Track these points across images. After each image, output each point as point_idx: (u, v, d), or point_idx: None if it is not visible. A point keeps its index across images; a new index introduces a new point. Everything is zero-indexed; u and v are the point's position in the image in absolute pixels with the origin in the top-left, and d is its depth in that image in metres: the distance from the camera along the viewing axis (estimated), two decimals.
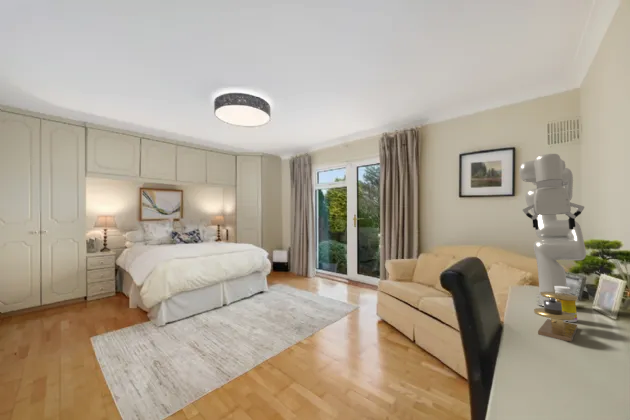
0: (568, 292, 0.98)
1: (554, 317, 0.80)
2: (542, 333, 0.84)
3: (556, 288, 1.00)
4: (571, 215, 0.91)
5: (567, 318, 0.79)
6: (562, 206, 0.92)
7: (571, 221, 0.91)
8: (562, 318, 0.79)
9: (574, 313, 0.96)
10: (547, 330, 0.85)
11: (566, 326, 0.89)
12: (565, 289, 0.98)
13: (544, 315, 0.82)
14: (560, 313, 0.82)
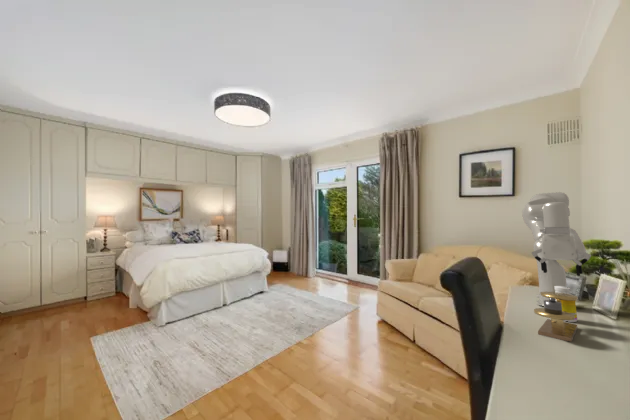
0: (568, 292, 0.98)
1: (554, 317, 0.80)
2: (542, 333, 0.84)
3: (556, 288, 1.00)
4: None
5: (567, 318, 0.79)
6: None
7: None
8: (562, 318, 0.79)
9: (574, 313, 0.96)
10: (547, 330, 0.85)
11: (566, 326, 0.89)
12: (565, 289, 0.98)
13: (544, 315, 0.82)
14: (560, 313, 0.82)
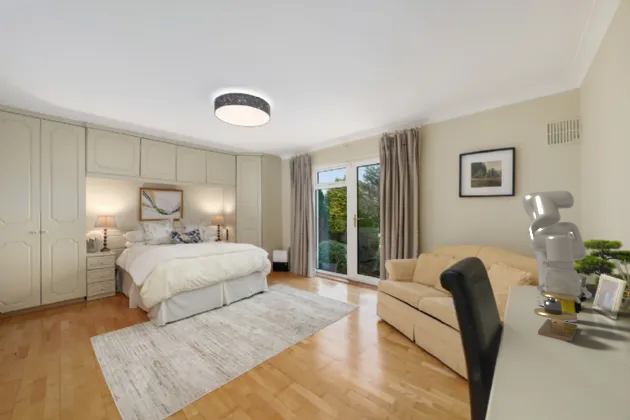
0: None
1: (554, 317, 0.80)
2: (542, 333, 0.84)
3: None
4: None
5: (567, 318, 0.79)
6: None
7: None
8: (562, 318, 0.79)
9: (574, 313, 0.96)
10: (547, 330, 0.85)
11: (566, 326, 0.89)
12: None
13: (544, 315, 0.82)
14: (560, 313, 0.82)
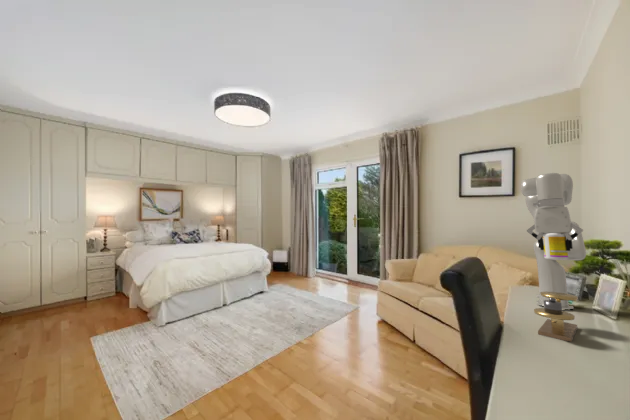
0: None
1: (554, 317, 0.80)
2: (542, 333, 0.84)
3: None
4: None
5: (567, 318, 0.79)
6: None
7: None
8: (562, 318, 0.79)
9: (565, 251, 0.92)
10: (547, 330, 0.85)
11: (566, 326, 0.89)
12: None
13: (544, 315, 0.82)
14: (560, 313, 0.82)
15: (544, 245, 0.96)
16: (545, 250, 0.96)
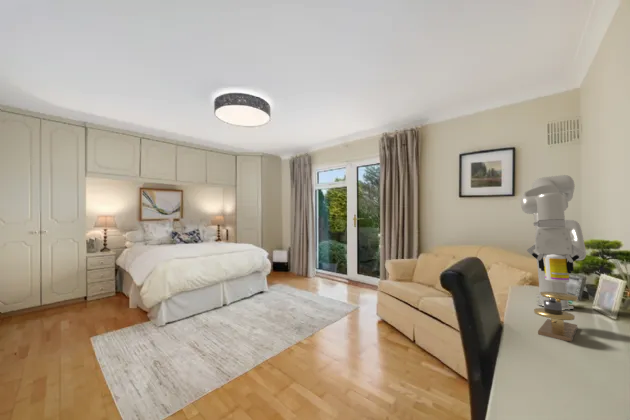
0: None
1: (554, 317, 0.80)
2: (542, 333, 0.84)
3: None
4: None
5: (567, 318, 0.79)
6: None
7: None
8: (562, 318, 0.79)
9: (566, 273, 0.90)
10: (547, 330, 0.85)
11: (566, 326, 0.89)
12: None
13: (544, 315, 0.82)
14: (560, 313, 0.82)
15: (545, 266, 0.94)
16: (546, 271, 0.94)
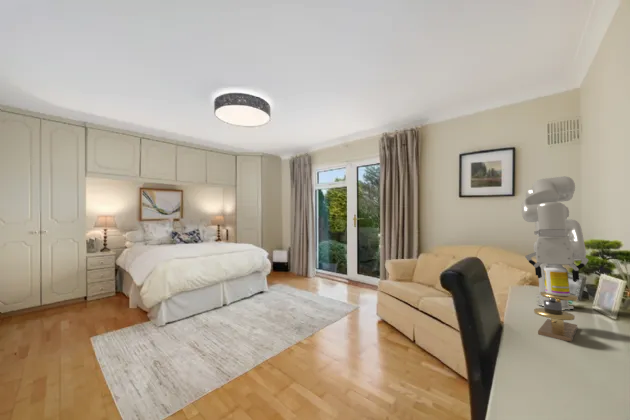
0: (560, 265, 0.92)
1: (554, 317, 0.80)
2: (542, 333, 0.84)
3: None
4: None
5: (567, 318, 0.79)
6: None
7: None
8: (562, 318, 0.79)
9: (566, 287, 0.90)
10: (547, 330, 0.85)
11: (566, 326, 0.89)
12: None
13: (544, 315, 0.82)
14: (560, 313, 0.82)
15: (545, 279, 0.94)
16: (546, 285, 0.94)
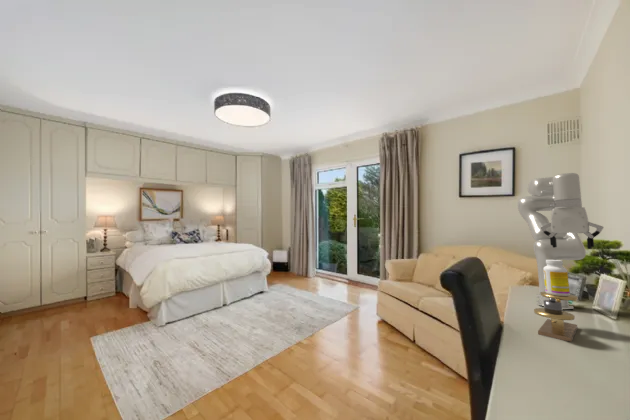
0: (560, 265, 0.92)
1: (554, 317, 0.80)
2: (542, 333, 0.84)
3: (548, 261, 0.94)
4: None
5: (567, 318, 0.79)
6: None
7: None
8: (562, 318, 0.79)
9: (566, 287, 0.90)
10: (547, 330, 0.85)
11: (566, 326, 0.89)
12: (557, 262, 0.92)
13: (544, 315, 0.82)
14: (560, 313, 0.82)
15: (545, 279, 0.94)
16: (546, 285, 0.94)
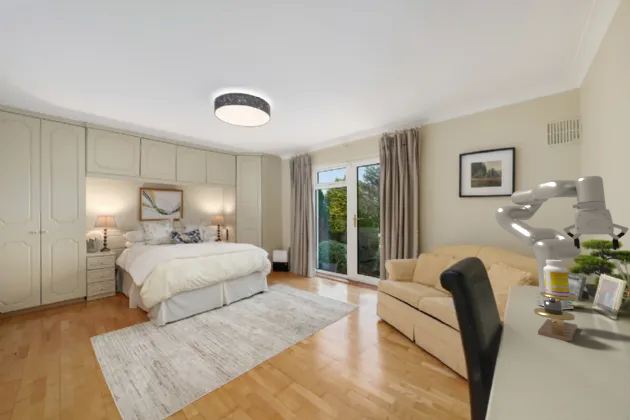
0: (560, 265, 0.92)
1: (554, 317, 0.80)
2: (542, 333, 0.84)
3: (548, 261, 0.94)
4: None
5: (567, 318, 0.79)
6: None
7: None
8: (562, 318, 0.79)
9: (566, 287, 0.90)
10: (547, 330, 0.85)
11: (566, 326, 0.89)
12: (557, 262, 0.92)
13: (544, 315, 0.82)
14: (560, 313, 0.82)
15: (545, 279, 0.94)
16: (546, 285, 0.94)
